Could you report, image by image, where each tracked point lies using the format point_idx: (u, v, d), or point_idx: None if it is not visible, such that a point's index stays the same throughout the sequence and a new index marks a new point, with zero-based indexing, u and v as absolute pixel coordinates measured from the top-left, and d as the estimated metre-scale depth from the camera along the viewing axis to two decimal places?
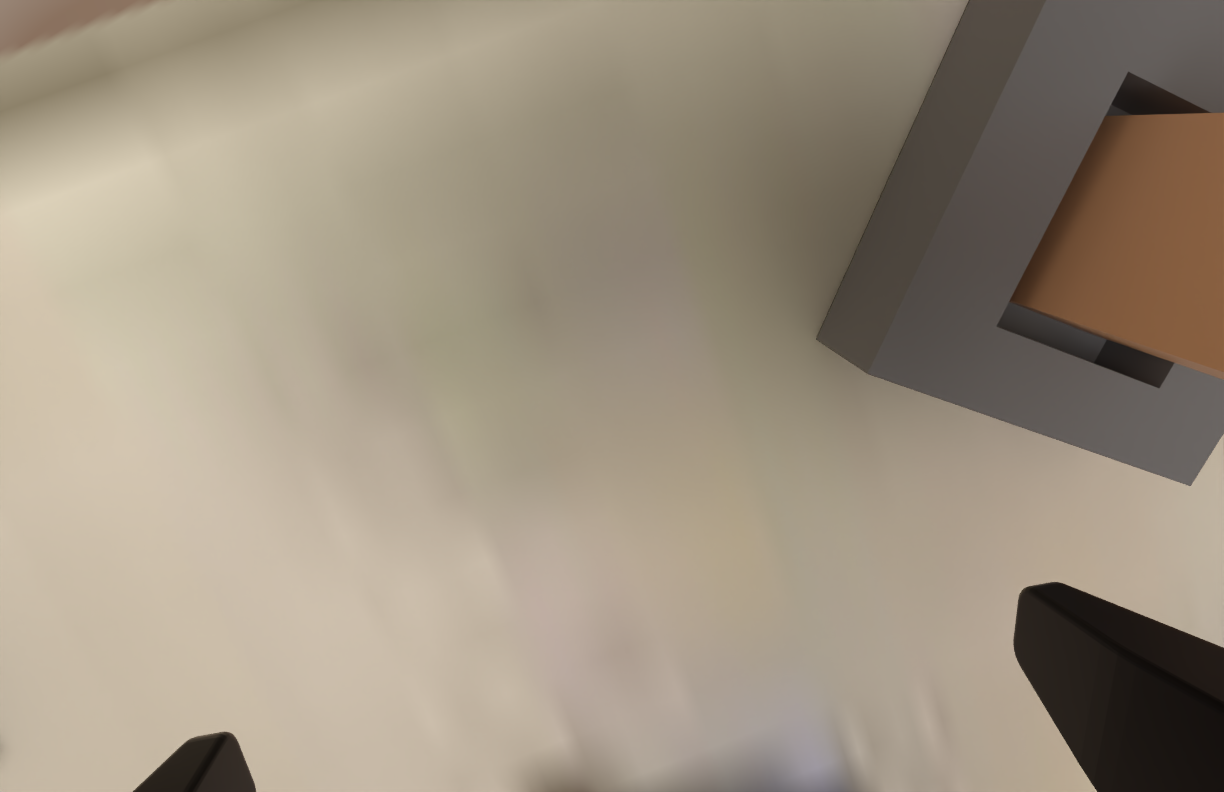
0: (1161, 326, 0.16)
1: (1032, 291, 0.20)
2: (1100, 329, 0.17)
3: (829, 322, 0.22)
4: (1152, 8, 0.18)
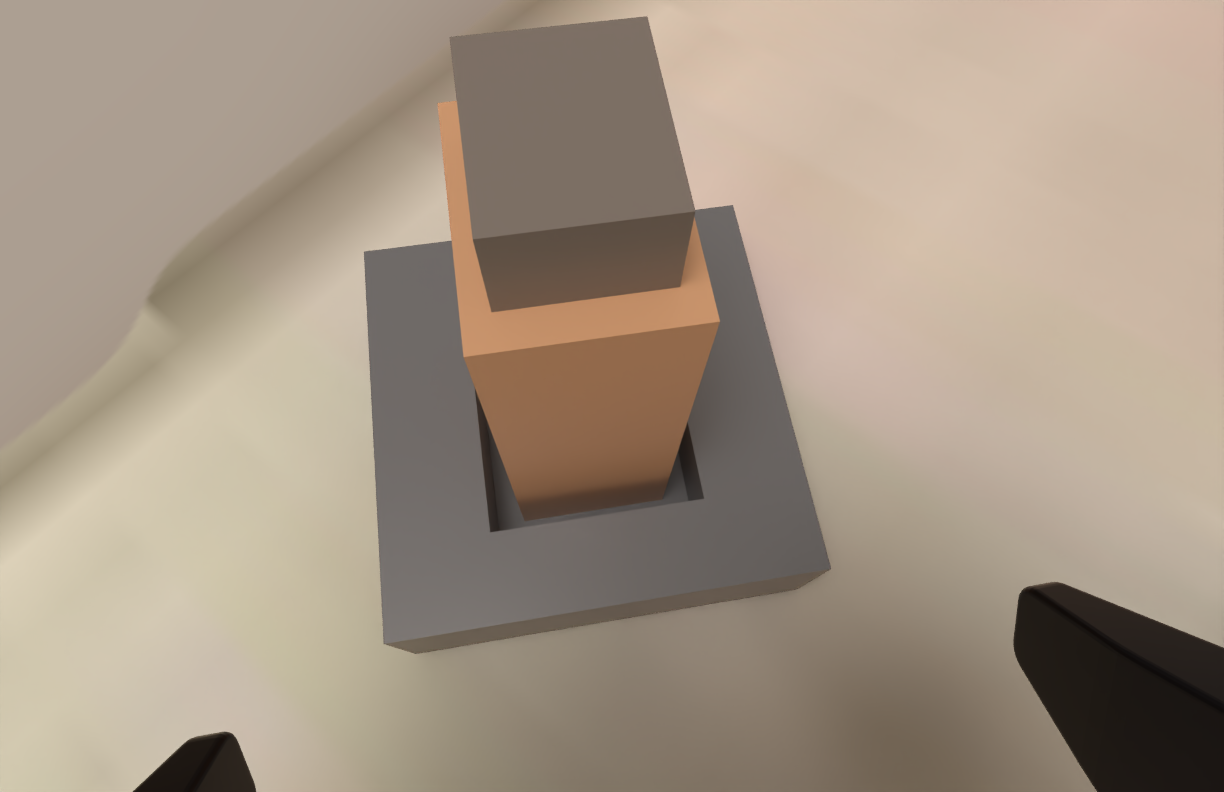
0: None
1: None
2: (506, 471, 0.17)
3: None
4: None
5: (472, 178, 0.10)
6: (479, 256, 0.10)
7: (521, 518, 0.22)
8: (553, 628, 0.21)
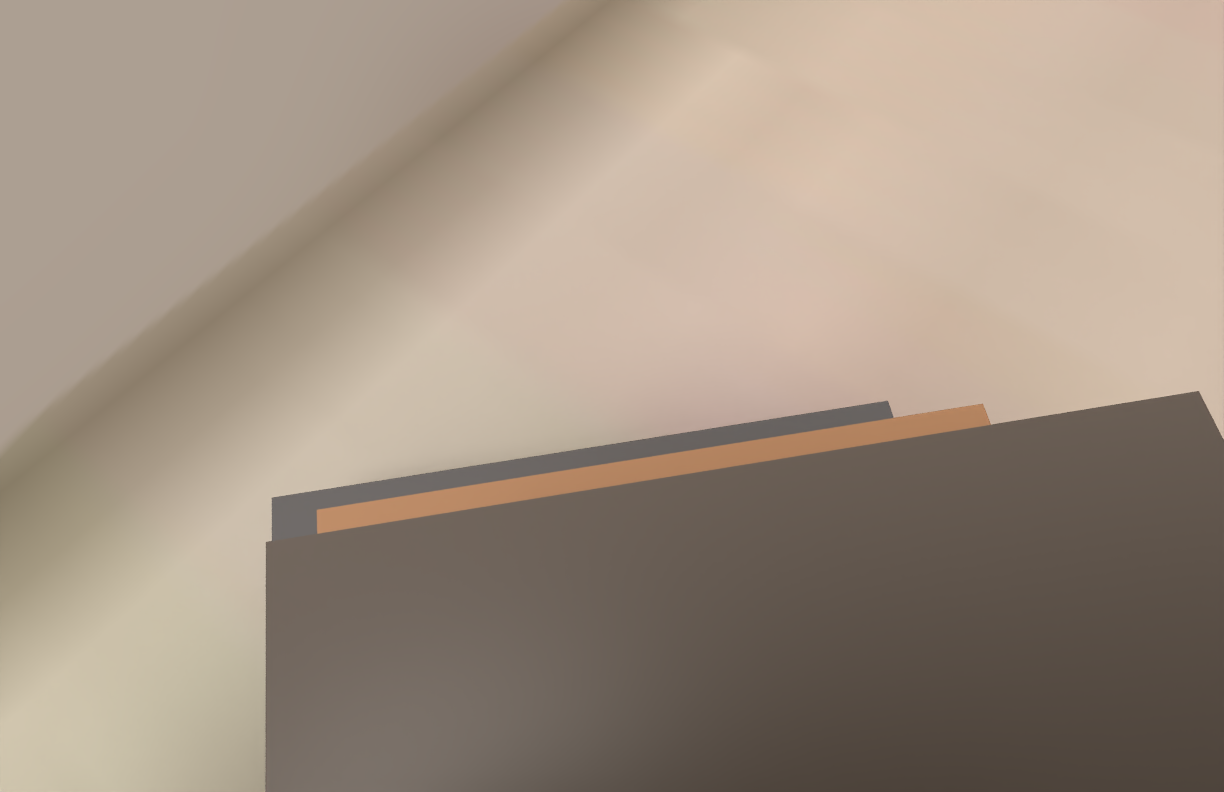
0: None
1: None
2: None
3: None
4: None
5: None
6: None
7: None
8: None
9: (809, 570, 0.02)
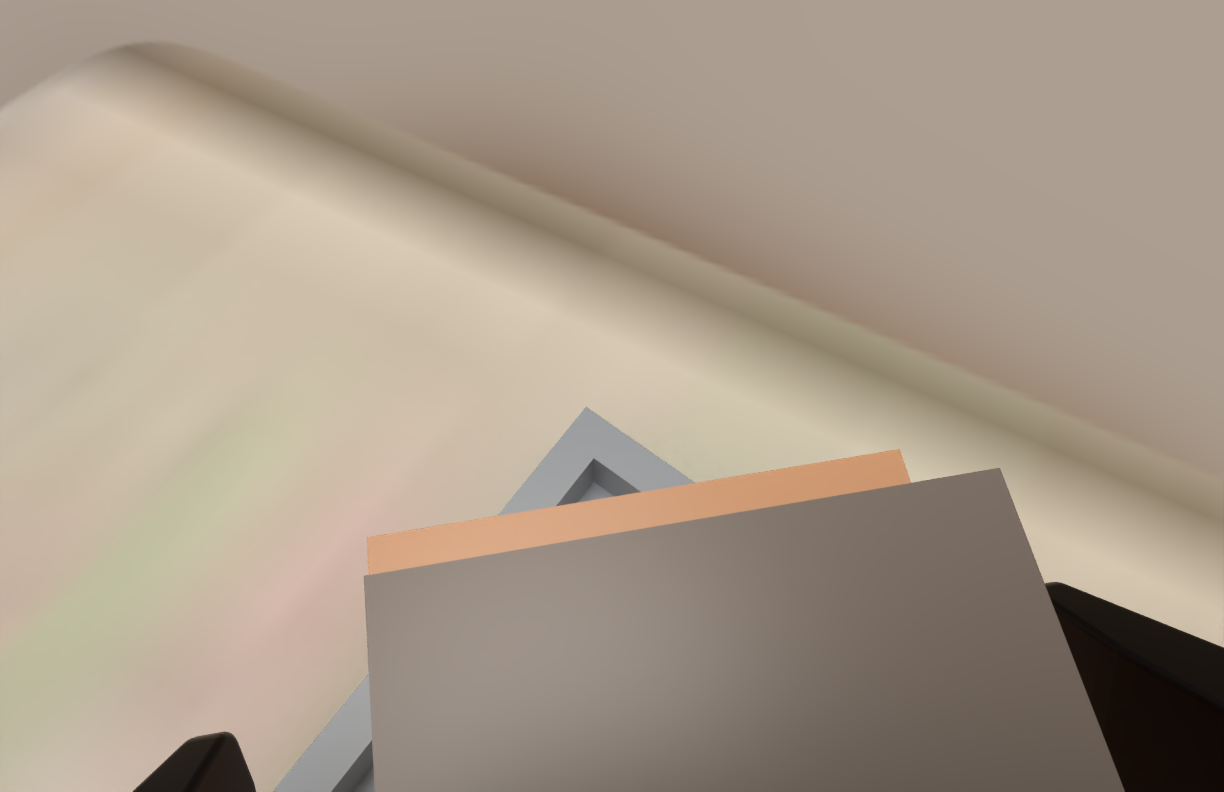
0: None
1: None
2: None
3: None
4: None
5: None
6: None
7: None
8: None
9: (726, 594, 0.03)
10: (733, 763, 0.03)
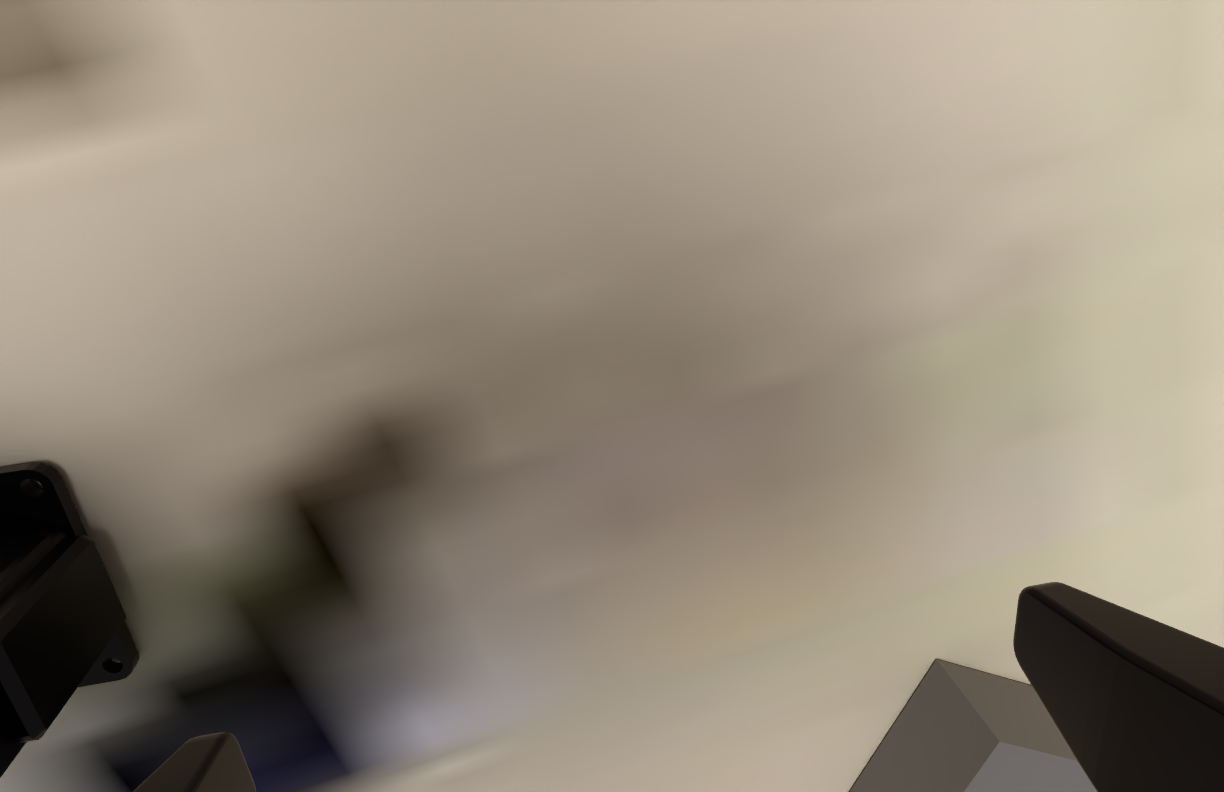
0: None
1: None
2: None
3: (956, 669, 0.25)
4: None
5: None
6: None
7: None
8: (886, 758, 0.26)
9: None
10: None
